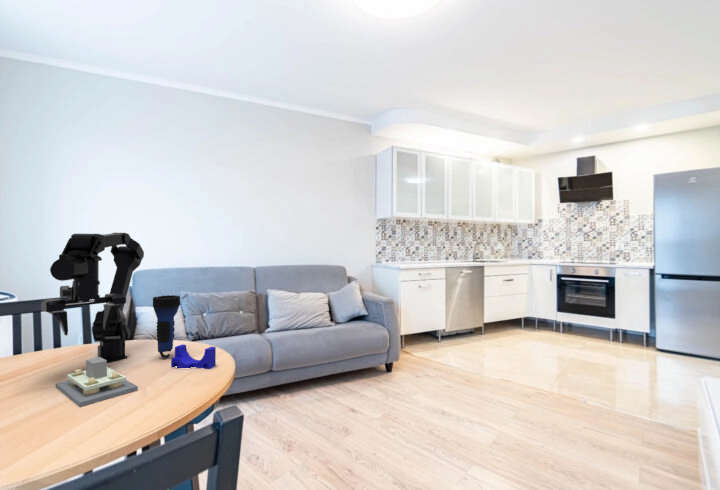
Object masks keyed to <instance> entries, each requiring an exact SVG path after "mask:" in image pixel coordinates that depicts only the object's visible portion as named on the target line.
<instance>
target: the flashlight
mask: <svg viewBox="0 0 720 490" xmlns="http://www.w3.org/2000/svg"><path fill="white" fill-rule="evenodd" d="M180 305H181V296H180V295H174V294H172V295H170V294H169V295H159V296H154V297H152V307H153V311H154V314H155V316H156V319H157V321H156V337H157V338H156V342H157V352H158V353H159V355H160V356H161V357H162V358H163V359H167V358H168V359H169V357H170V356H171V354H170V353H167V352H172V350H173V348H174V339H175V325H176V324H175V316H176V314H177V313H178V311H179V308H180ZM164 353H167V354H166V355H165V354H164Z"/></svg>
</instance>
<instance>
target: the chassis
mask: <svg viewBox="0 0 720 490" xmlns="http://www.w3.org/2000/svg"><path fill="white" fill-rule="evenodd" d="M81 371H82V369H81V368H77V369H75V370H74V373H75V376H80V375H81ZM118 373H119V372H118V371H116V372H113V373H112V380H113V379H117V378H118ZM93 384H95V378H94V377H92V378H89V382H88V386H89V385H93ZM55 388H56V389H58V390H59V391H60V392H61V393H63V395H64V396H66V397H67V398H69V399H70V400H71V401H72V402H74V404H76V405H77V406H79V408H82V407H84V406H89V405H92V404H94V403H95V404H96V403H99V402H102V401H105V400H108V399H113V398H115V397H116V398H117V397H120V396H124V395H125V394H126V395H127V394H130V393H134V392H137V391H138V390H139V389H138V388H139V386H138V385H136V384H135V383H132V382H130V381H128V379H126V380H125V381H121V382H117V383H113V384H110V385H106V386H102V387H98V388H94V389H91V390H87V391H85V390H84V389H82V388H81V387H79V386H78V385H77V384H75V383H74V382H72V381H71V380H69V379H68V380H65V381H60V382H56V383H55Z"/></svg>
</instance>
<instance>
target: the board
mask: <svg viewBox="0 0 720 490" xmlns="http://www.w3.org/2000/svg"><path fill="white" fill-rule="evenodd" d="M113 372H117V371H116V370H114V369H113V368H110V367H108V362H107V360H105V359H103V358H101V357H98V356H97V357H92V358H88V359H85V370H81V375H80V376H75V372H73V373H69V374H66V378H67V379H68V380H71V381H72V382H74V383H75V384H77V385H78V386H79V387H81V388H82V389H84V390H85V391H87V390H91V389H94V388H98V387H102V386H106V385H110V384H113V383H117V382H121V381H125V380H127V376H126V375H124V374H121V373H119V372H118V378H117V379H113V380H112V373H113ZM92 377H94V378H95V384H93V385H89V386H88V382H89V378H92Z"/></svg>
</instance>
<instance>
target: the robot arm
mask: <svg viewBox="0 0 720 490" xmlns="http://www.w3.org/2000/svg"><path fill="white" fill-rule="evenodd" d="M109 247H111V248H110V251H109V252H110V253H111V254H112V256H113V262H114V264H115V266H116V268H115V269H116V270H115V274H114V276H113V281H112V284H111V287H110V290H109V293H105V295H104V296H100V294H99V290H100V289H99V285H101V283H100V281H101V280H99V279H100V278H99V275H100V274H99V271H100V270H99V268H100V267H99V264H100V263H99V262H100V261H102V260H103V258H102V257H101V256H100V255H99V254H100V253H103V252H104V251H105V248H109ZM144 255H145V253H144V250H143V247H142V246H141V244H140V243H139V242H138V241H136V240H135V239H133V238H132V237H131V235H130V233H127V232H112V233H107V234H103V233H102V234H101V233H73V234H72V235H71V236H70V237H69V239H68V240H67V242H66V244H65V246H64V248H63V250H62V252H61V254H58V259H57V260H55V261H54V262H53V263H52V264H51V266H50V270H49V271H50V275H51V276H52V277H53V278H54V279H55V280H57V281H62V282H63V281H64V282H65V281H71V280H72V284H71V285H72V286H71V287H70V285H60V286H59V297H60V298H48V299H47V298H46V299H43V300H42V301H41V304H40V305H41V306H40V307H41V308H40V310H41V311H42V312H45V313H48V314H49V315H54V316H55V318H56V319H57V321H58V324H59V325H60V328H61V330H62V332H63V334H64V336H68V333H69V324H68V323H69V322H68V311H66V310H65V309H66V308H71V307H78V306H79V307H80V306H88V305H99V304H102V305H103V309H102V310H99V311H96V313H95V317H94V321H93V323H92V327H91V333H92V336H93V340H94V342H99V345H97V357H101V358H103V359H105V360H107V363H110V362H113V361H119V360H123V359H127V358H128V356H127V355H126V340H129V339H130V338H131V332H132V331H131V329H130V327H129V326H128V324H127V317H126V316H125V314H124V308H125V304H127V296H128V291H129V288H130V284H131V281H132V276H133V272H134V271H135V270H136V269H137V268H139V267H140V265H141V263H142V260H143V259H144ZM63 298H65V299H63ZM66 298H68V299H67V300H66Z"/></svg>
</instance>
